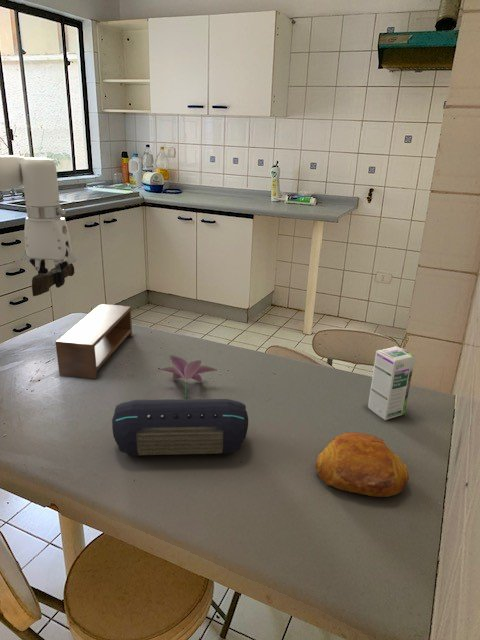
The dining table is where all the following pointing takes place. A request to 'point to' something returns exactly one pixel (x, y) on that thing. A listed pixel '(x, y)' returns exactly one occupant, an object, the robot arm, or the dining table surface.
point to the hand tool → (48, 280)
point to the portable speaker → (179, 426)
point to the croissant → (362, 465)
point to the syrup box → (391, 382)
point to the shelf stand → (93, 340)
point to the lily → (187, 369)
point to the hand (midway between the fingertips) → (52, 284)
